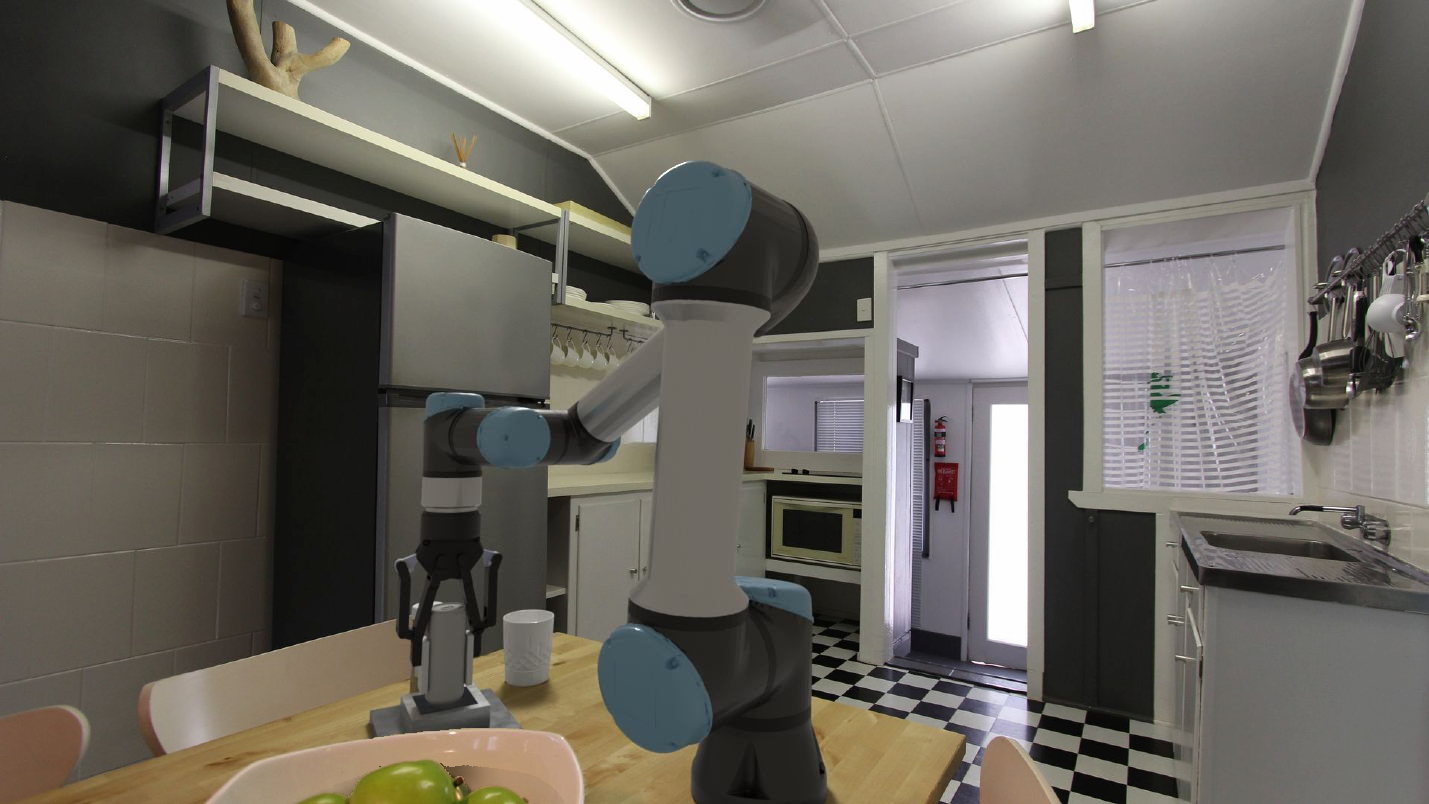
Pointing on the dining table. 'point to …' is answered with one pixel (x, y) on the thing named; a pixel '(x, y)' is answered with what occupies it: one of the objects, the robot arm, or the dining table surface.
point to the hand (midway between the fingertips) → (445, 685)
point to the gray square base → (442, 714)
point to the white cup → (527, 646)
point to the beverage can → (446, 653)
